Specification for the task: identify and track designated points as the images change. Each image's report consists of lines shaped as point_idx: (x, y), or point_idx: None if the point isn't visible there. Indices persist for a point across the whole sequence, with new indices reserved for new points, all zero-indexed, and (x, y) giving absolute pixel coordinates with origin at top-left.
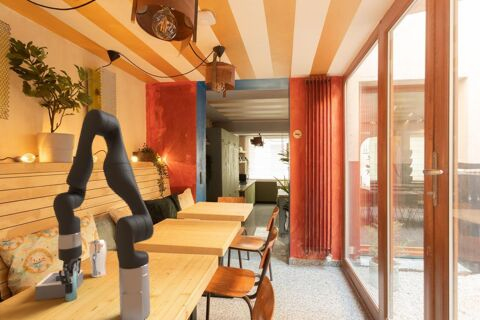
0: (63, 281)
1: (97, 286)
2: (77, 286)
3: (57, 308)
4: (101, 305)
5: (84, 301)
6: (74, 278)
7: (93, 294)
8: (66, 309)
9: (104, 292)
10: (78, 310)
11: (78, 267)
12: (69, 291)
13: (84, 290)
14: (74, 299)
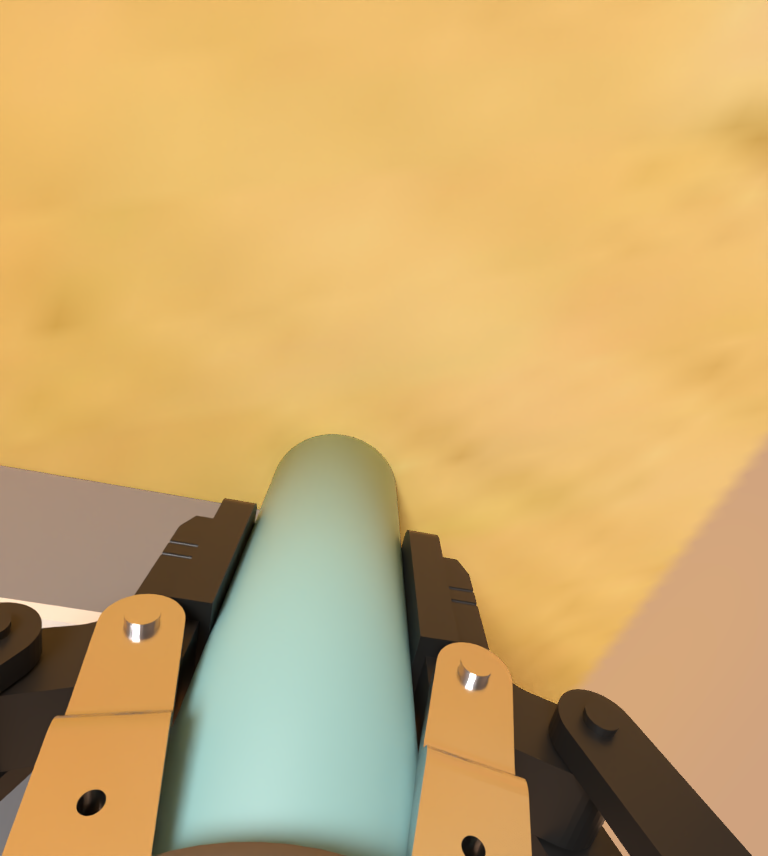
0: (590, 843)
1: (26, 194)
2: (23, 487)
3: (513, 582)
4: (764, 49)
5: (489, 324)
6: (372, 658)
7: (314, 225)
8: (593, 494)
9: (309, 39)
10: (707, 360)
11: (23, 821)
12: (469, 578)
13: (125, 375)
14: (381, 455)
